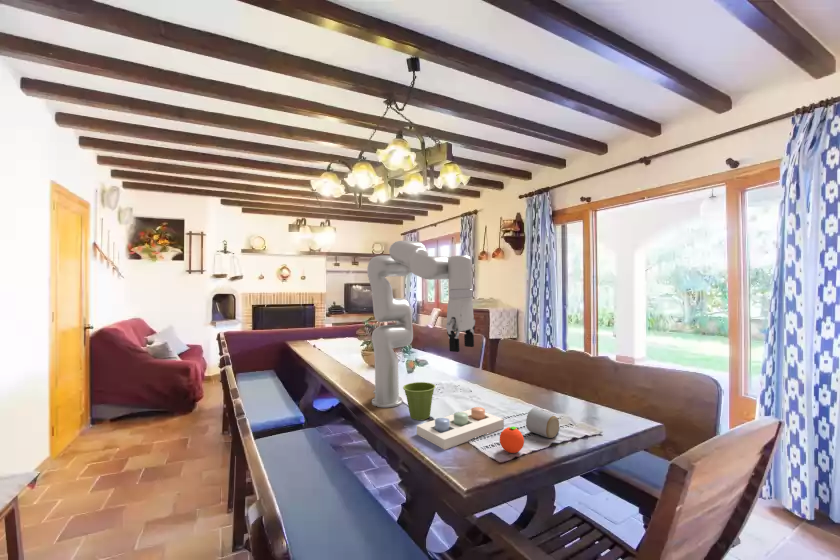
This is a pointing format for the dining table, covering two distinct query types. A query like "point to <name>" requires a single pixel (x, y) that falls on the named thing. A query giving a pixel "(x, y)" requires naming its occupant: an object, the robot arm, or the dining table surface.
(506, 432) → the clementine
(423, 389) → the plant pot
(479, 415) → the terracotta button
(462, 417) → the green button
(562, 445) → the dining table surface
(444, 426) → the blue button
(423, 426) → the console
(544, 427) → the grey canister
